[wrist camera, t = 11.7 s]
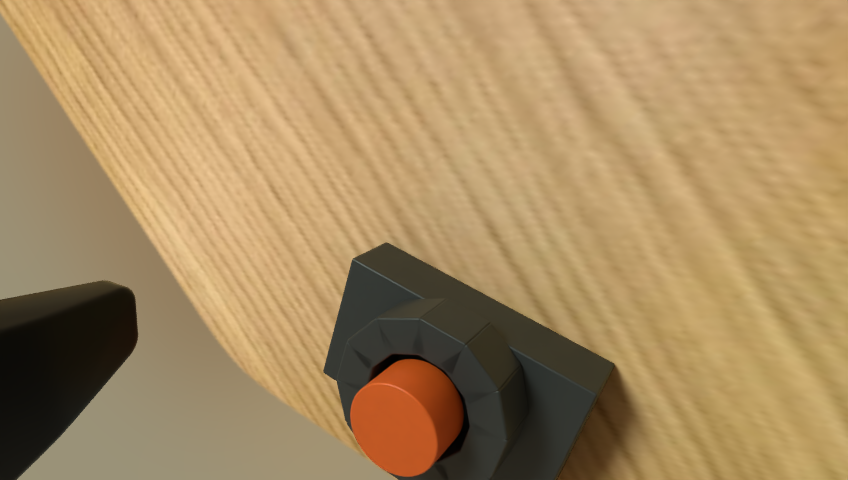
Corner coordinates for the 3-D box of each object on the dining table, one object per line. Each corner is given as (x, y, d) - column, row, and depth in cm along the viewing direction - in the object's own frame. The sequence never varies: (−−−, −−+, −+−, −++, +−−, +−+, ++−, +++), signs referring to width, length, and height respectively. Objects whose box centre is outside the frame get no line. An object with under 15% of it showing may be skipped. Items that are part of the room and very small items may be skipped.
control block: (621, 352, 20) (586, 413, 17) (554, 483, 23) (512, 560, 19) (389, 230, 23) (321, 261, 20) (353, 358, 26) (287, 404, 22)
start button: (477, 390, 19) (450, 419, 17) (448, 463, 20) (420, 496, 19) (394, 340, 20) (362, 364, 18) (371, 413, 21) (340, 440, 20)
